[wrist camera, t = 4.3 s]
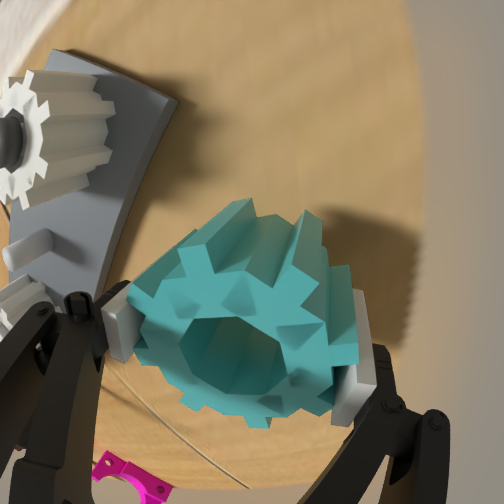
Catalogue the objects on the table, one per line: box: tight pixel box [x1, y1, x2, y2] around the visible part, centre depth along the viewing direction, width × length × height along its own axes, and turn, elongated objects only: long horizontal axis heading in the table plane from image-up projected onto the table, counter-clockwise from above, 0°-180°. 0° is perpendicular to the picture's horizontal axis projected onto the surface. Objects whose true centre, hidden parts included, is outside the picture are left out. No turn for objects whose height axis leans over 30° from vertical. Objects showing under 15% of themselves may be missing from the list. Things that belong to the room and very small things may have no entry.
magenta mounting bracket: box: [92, 450, 173, 504], centre depth 41 cm, size 15×6×8 cm, turn 55°
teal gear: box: [126, 198, 359, 429], centre depth 13 cm, size 9×9×6 cm
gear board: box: [0, 49, 179, 349], centre depth 20 cm, size 32×14×9 cm, turn 149°
